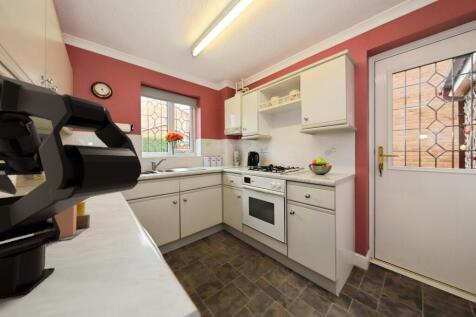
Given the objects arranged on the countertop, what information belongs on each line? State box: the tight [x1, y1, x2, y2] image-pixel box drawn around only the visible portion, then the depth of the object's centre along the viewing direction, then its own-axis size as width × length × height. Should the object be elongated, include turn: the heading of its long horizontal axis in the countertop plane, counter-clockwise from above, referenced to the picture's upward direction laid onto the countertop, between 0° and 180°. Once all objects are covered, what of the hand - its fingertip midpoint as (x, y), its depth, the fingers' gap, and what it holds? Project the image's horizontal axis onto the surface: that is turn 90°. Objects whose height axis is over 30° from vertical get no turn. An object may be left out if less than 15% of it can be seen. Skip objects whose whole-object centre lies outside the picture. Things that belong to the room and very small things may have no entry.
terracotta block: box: [54, 204, 77, 238], centre depth 50 cm, size 4×4×13 cm
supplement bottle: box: [76, 200, 86, 215], centre depth 62 cm, size 5×5×10 cm
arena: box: [33, 214, 91, 242], centre depth 50 cm, size 9×9×4 cm
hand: (43, 191), depth 43 cm, fingers open, 9 cm apart
